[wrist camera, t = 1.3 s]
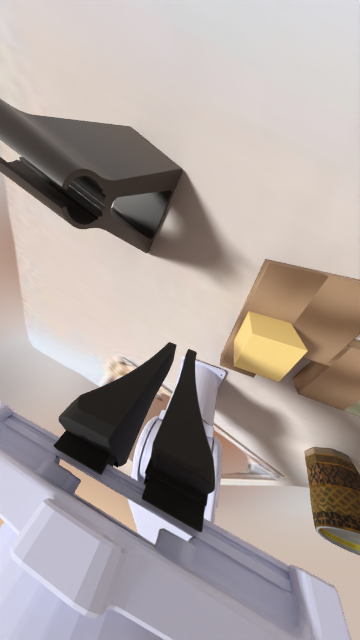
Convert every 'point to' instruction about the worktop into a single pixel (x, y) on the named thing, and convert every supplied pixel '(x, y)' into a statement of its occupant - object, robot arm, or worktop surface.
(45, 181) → the phone stand
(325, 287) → the box
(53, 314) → the worktop surface
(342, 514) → the ceramic cup
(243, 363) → the block
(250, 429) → the worktop surface
